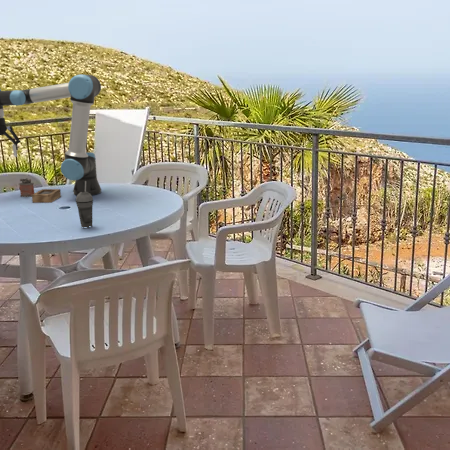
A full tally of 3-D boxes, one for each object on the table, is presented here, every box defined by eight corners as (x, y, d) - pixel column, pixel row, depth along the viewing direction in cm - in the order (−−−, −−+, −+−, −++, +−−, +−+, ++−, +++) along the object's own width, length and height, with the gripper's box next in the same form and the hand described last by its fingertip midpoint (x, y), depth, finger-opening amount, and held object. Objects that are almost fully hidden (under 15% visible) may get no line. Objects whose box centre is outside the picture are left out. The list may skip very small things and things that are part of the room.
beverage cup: (79, 224, 223) (75, 179, 217) (96, 224, 223) (92, 179, 218) (76, 229, 216) (72, 183, 210) (94, 228, 216) (90, 182, 211)
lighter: (36, 195, 282) (34, 178, 279) (33, 197, 278) (31, 179, 276) (22, 195, 282) (20, 178, 280) (19, 197, 279) (17, 179, 276)
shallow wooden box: (61, 196, 278) (60, 189, 277) (51, 202, 265) (50, 194, 264) (43, 196, 279) (42, 189, 278) (32, 202, 265) (31, 194, 264)
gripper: (18, 115, 277) (23, 154, 282) (-31, 118, 261) (-24, 160, 267) (23, 116, 271) (28, 155, 277) (-27, 119, 256) (-20, 161, 261)
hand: (2, 158), depth 272 cm, fingers open, 13 cm apart
